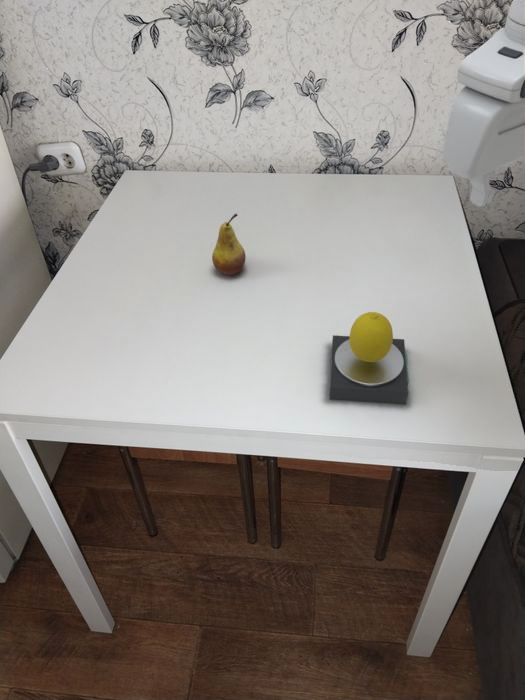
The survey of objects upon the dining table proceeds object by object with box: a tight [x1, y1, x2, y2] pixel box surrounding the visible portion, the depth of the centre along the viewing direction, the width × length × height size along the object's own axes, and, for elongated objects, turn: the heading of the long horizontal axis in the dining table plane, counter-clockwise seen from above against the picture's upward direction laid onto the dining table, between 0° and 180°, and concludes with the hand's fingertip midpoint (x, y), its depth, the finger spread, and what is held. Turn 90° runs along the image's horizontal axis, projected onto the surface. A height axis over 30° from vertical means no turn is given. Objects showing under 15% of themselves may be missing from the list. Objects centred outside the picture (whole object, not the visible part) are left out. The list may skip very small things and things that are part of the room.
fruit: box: [211, 213, 247, 276], centre depth 96 cm, size 6×6×12 cm
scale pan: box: [335, 340, 404, 387], centre depth 80 cm, size 9×9×1 cm
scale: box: [329, 334, 410, 406], centre depth 81 cm, size 10×10×3 cm
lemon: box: [349, 311, 394, 362], centre depth 77 cm, size 6×6×8 cm
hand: (510, 189), depth 64 cm, fingers open, 8 cm apart
